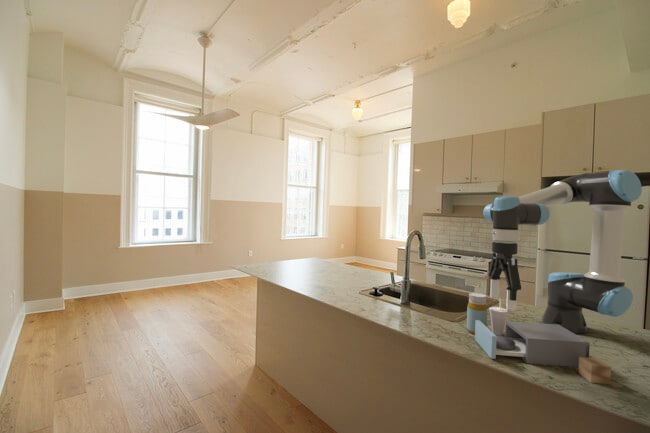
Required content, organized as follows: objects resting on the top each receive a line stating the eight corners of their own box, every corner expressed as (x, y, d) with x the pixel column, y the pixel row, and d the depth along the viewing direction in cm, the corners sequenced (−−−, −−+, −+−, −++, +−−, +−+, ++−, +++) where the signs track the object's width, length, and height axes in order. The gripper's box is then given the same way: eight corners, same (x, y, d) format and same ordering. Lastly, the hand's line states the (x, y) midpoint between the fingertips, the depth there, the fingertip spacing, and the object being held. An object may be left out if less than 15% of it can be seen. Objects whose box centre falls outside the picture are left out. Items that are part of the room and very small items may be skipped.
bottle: (488, 336, 117) (490, 298, 117) (469, 334, 119) (470, 296, 118) (483, 329, 124) (484, 293, 124) (464, 327, 125) (466, 291, 125)
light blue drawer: (526, 343, 111) (527, 323, 111) (550, 363, 97) (551, 340, 96) (474, 339, 113) (475, 320, 113) (491, 358, 99) (492, 336, 99)
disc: (484, 339, 110) (484, 334, 110) (507, 340, 109) (508, 336, 109) (494, 349, 102) (494, 344, 102) (519, 351, 101) (520, 346, 101)
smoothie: (506, 338, 116) (508, 301, 116) (487, 334, 119) (489, 298, 119) (507, 332, 121) (508, 297, 121) (488, 329, 125) (490, 295, 124)
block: (596, 374, 91) (597, 358, 91) (610, 384, 86) (611, 366, 86) (578, 373, 92) (579, 356, 92) (590, 382, 87) (591, 365, 87)
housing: (557, 346, 110) (558, 324, 110) (588, 367, 95) (589, 342, 95) (504, 342, 112) (505, 321, 112) (526, 363, 97) (527, 338, 97)
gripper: (480, 238, 117) (478, 292, 118) (508, 245, 92) (506, 314, 93) (501, 238, 116) (499, 294, 116) (536, 246, 91) (533, 316, 92)
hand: (502, 303), depth 105 cm, fingers open, 13 cm apart
